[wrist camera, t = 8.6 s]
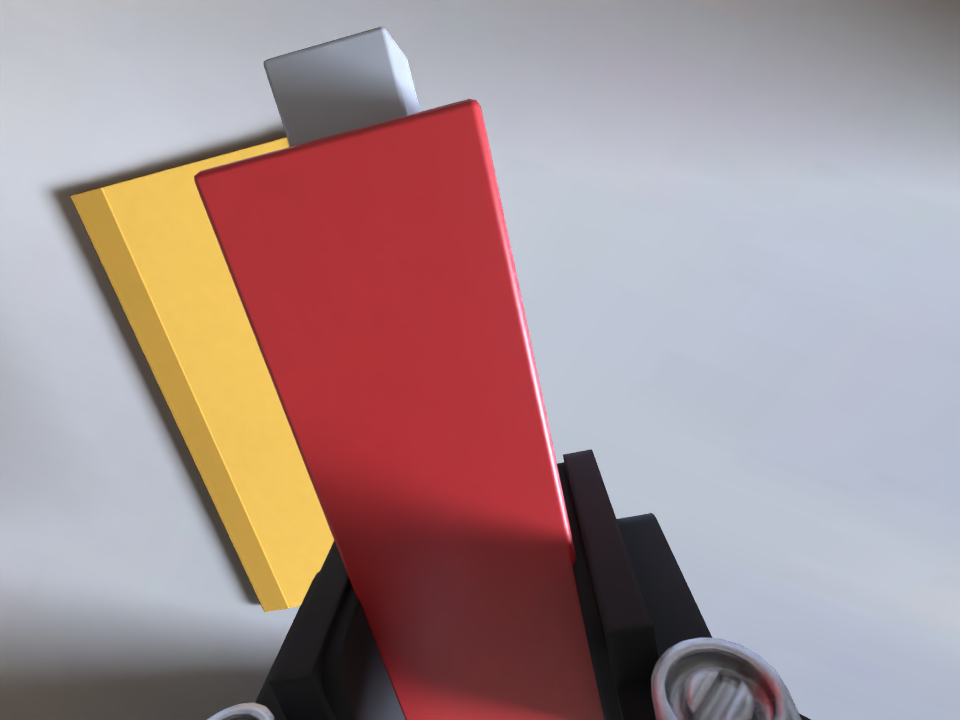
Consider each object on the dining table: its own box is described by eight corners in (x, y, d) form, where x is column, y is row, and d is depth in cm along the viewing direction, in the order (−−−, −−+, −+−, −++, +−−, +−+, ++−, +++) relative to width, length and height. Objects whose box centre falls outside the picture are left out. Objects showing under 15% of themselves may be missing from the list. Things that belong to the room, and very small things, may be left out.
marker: (476, 52, 7) (460, -42, 4) (624, 762, 12) (667, 958, 9) (269, 109, 8) (118, 61, 5) (491, 779, 12) (489, 973, 9)
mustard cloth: (326, 127, 16) (322, 126, 16) (461, 576, 22) (461, 582, 21) (77, 195, 17) (69, 195, 17) (267, 606, 23) (264, 612, 23)
